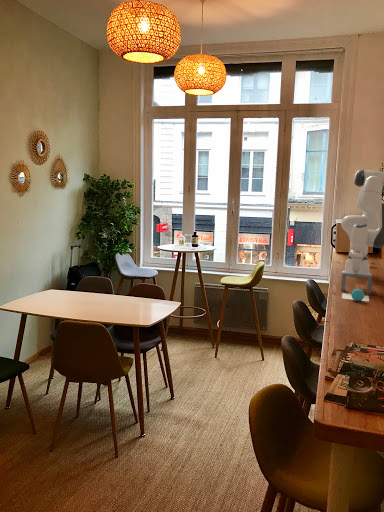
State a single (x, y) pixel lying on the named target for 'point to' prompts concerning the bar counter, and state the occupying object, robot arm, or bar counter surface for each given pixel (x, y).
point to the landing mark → (348, 296)
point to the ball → (357, 294)
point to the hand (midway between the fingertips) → (355, 276)
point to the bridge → (357, 276)
